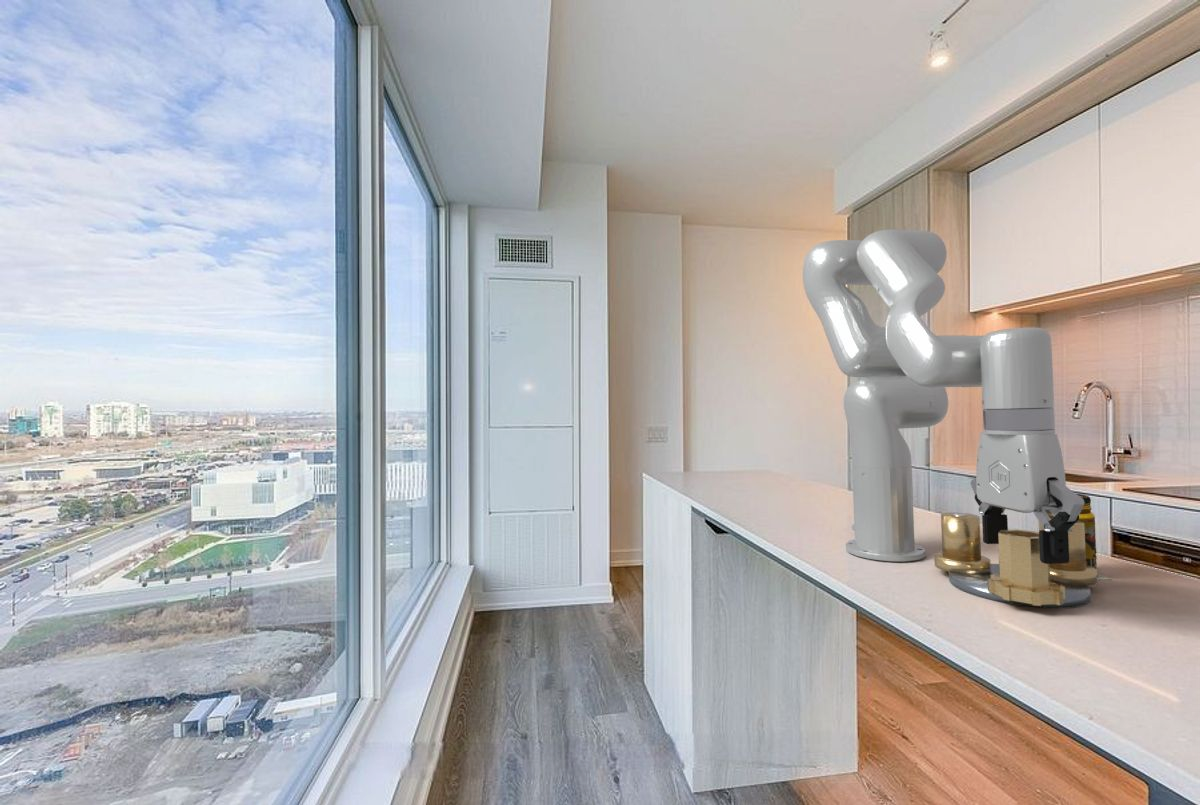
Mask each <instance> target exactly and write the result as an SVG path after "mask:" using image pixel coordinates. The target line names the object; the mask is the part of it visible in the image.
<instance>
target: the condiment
mask: <svg viewBox="0 0 1200 805" xmlns="http://www.w3.org/2000/svg"><path fill="white" fill-rule="evenodd" d="M1076 494H1077V495H1078V496H1080V497H1081V498H1082V499H1083V500H1084V506H1083V508H1082V510H1081V512H1080V514H1079V520H1078V521H1081V522H1083V523H1084V529H1085V552H1086V565H1088V566H1091V567H1093V568H1095V569H1096V570H1097V571H1098V567H1097V565H1098V564H1097V562H1098V561H1097V546H1096V543H1097V542H1096V518H1095V515H1094V513H1093V512H1092V511H1091V510H1092V509H1093V508H1092V505H1091V504H1092V502H1091V501H1092V499H1091V497H1090V496H1088V495H1086V494H1082V493H1081V494H1080V493H1076ZM1048 516H1049V517H1050V518H1053V517H1054V516H1053V515H1052V514H1048ZM1098 580H1104V581H1107V580H1108V581H1109V580H1112V578H1111V577H1108V576H1106V575H1102V574H1100V573H1098V572H1097V581H1098Z"/></svg>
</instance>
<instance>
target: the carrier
mask: <svg viewBox="0 0 1200 805" xmlns="http://www.w3.org/2000/svg"><path fill="white" fill-rule="evenodd" d="M1050 519H1052V518H1050ZM940 527H941V551H939V552H935V553H934V554H933V555H934V556H933V557H934V567H935V568H937V569H939V570H941V571H945V572H948V582H949V583H950V584H951V585H952V586H953V587H955V588H957V589H958V590H960V591H963V592H964V593H967V594H969V595H972V596H976V597H979V598H983V599H987V600H991V601H993V602H1000V603H1005V604H1010V605H1011V604H1012V605H1015V606H1016V605H1017V606H1024V607H1032V608H1045V609H1046V608H1047V609H1067V608H1069V607H1070V608H1076V607H1077V606H1078V607H1081V605H1083V606H1085V605H1088V604H1089V603H1090V602H1091V600H1092V599H1091V588H1090V586H1093V585H1096V584H1098V580H1097V573H1098V569H1097V570H1096V569H1095V568H1093V567H1091V566H1088V565H1086V552H1085V529H1084V523H1083V522H1081V521H1077V522H1076V523H1075V524H1074V525H1073V530H1072V531H1068V539H1069V562H1068V563H1059V564H1050V581H1051V582H1053V583H1056V584H1060V585H1063V586H1065V599H1063V605H1057V604H1047V605H1041V606H1036V605H1032V604H1028V603H1023V602H1017V601H1012V600H1011V601H1008V600H1004V599H1003V597H1000V596H998V595H996V594H994V593H989V592H988V581H987V579H991V575H993V574H996V575H1000V562H999V561H998V563H991V559H990V558H989V557H986V556H984V555H982V544H981V543H982V542H981V540H982V539H981V538H982V537H981V517H980V516H979V515H976V514H974V513H973V514H972V513H968V512H967V513H966V512H942V513H941V514H940ZM1039 530H1044V529H1043V527H1042V525H1041V524H1040V522H1039V521H1038V531H1039ZM1088 602H1089V603H1088ZM1087 603H1088V604H1087ZM1078 607H1077V608H1078ZM1070 608H1069V609H1070Z"/></svg>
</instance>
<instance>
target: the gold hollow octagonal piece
mask: <svg viewBox="0 0 1200 805" xmlns="http://www.w3.org/2000/svg"><path fill="white" fill-rule="evenodd" d="M998 537H999V544H998V563H999V562H1000V575H996V574H993V575H991V579H987V581H988V592H989V593H994V594H996V595H998V596H1000V597H1003V599H1004V600H1008V601H1011V600H1012V601H1017V602H1023V603H1028V604H1032V605H1036V606H1041V605H1047V604H1057V605H1063V599H1065V586H1063V585H1060V584H1056V583H1053V582H1051V581H1050V564H1045V563H1042V562H1041V561H1040V549H1039V531H1037V530H1036V531H1033V530H1025V529H1018V528H1017V529H1008V530H1001V531H1000V532H999V533H998Z"/></svg>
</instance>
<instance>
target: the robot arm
mask: <svg viewBox="0 0 1200 805" xmlns="http://www.w3.org/2000/svg"><path fill="white" fill-rule="evenodd" d="M947 254H948V252H947V246H946V245H945V242H944V241H943V239H942V238H941V237H940V236H939V235H937V233H934V232H932V231H929V230H920V229H919V230H918V229H915V230H913V229H892V228H891V229H881V230H877V231H875V232H872V233H871V234H868V235H867V236H865V237H864V239H862V240H854V239H836V240H835V239H834V240H827V241H824V242H820V243H818V244H816V245H814V246H813V247H811V248H810V250H809V251H808V252H807V254H806V255H805V258H804V262H803V266H802V284H803V289H804V292H805V295H806V297H807V300H808V301H809V304H810V305H811V307H812V309H813V311H814V312H815V314H816V315H817V317H818V318H819V320H820V323H821V325H822V327H823V330H824V331H823V332H824V333H825V336H826V339H827V341H828V344H829V347H830V349H831V352H832V354H833V357H834V359H835V362H836V364H837V367H838V368H839V370H840V372H842V374H843V375H845V376H848V377H852V378H861V379H857V380H856V381H854V382H852V383H851V384H850V385H849V386H848V387H847V389H846V390H845V392H844V397H843V409H844V414H845V418H846V421H847V422H846V423H847V428H848V431H849V438H850V448H851V449H850V450H851V469H852V470H851V472H852V494H853V495H852V497H853V498H852V499H853V502H852V503H853V524H852V525H851V530H853V532H854V539H851V540H849V541H847V542H846V543H845V550H846V551H847V552H848V553H850V554H851V555H853V556H857V557H860V558H862V559H863V558H864V559H868V560H874V561H883V562H896V563H897V562H913V561H919V560H922V559H924V558H925V557H926V549H925V548H924V547H923V546H921V545H919V544H916V543H915V521H914V520H915V518H914V496H913V495H914V492H913V491H914V490H913V487H914V486H913V466H912V454H911V451H910V448H909V445H908V443H907V442H906V440H905V438H904V436H903V435H902V433H901V432H900V429H920V428H929V427H933V426H936V425H938V424H939V423H941V422H942V421H943V420H944V418H945V417H946V415H947V413H948V409H949V397H948V393H947V389H946V388H981V398H982V421H983V422H982V423H983V424H982V425H983V431H982V432H981V433H980V436H979V440H978V446H977V454H976V456H977V457H976V472H975V473H976V474H975V475H976V476H975V478H973V479H972V480H971V481H970V486H971V488H972V491H973V494H974V500H975V502H976V504H977V505H978V512H979V514H980V515H981V521H982V522H981V523H982V524H981V526H982V543H984V544H986V545H999V537H998V533H999V532H1000V531H1001V530H1009V525H1008V524H1009V523H1008V520H1009V519H1008V514H1004V512H1005V511H1006V510H1009V511H1013V512H1017V513H1023V514H1030V513H1033V514H1034V516H1035V517H1036V519H1037V521H1038V523H1039V522H1040V524H1041V525H1042V527H1043V529H1044V530H1039V529H1038V532H1039V549H1040V561H1041V562H1042V563H1045V564H1059V563H1068V562H1069V539H1068V531H1072V530H1073V525H1074V524H1075V523H1076V522H1077V521H1078V520H1079V514H1080V512H1081V510H1082V508H1083V506H1084V500H1083V499H1082V498H1081V497H1080V496H1078V495H1077V494H1078V493H1076V492H1074V491H1073V490H1071V489H1070V488H1069V487H1068V486H1067V483H1066V472H1065V465H1064V464H1065V463H1064V459H1063V453H1062V452H1063V451H1062V450H1061V445H1060V441H1059V437H1058V434H1057V433H1056V424H1055V423H1056V422H1055V420H1056V418H1055V398H1054V397H1055V393H1054V375H1053V347H1052V346H1053V345H1052V338H1051V337H1052V336H1051V334H1050V332H1048V331H1047V329H1044V328H1041V327H1029V326H1028V327H1014V328H1006V329H1005V328H1004V329H999V330H998V329H997V330H993V331H991V332H988V333H986V334H985V335H966V334H965V335H964V334H961V335H959V334H958V335H954V334H953V335H948V334H947V335H946V334H945V335H943V334H942V335H936V334H935V333H934V332H932V331H931V329H930V328H929V327H928V326H927V324H926V322H925V321H924V320H923V319H922V318H921V316H924V315H925V314H927V313H929V312H930V311H931V310H932V309H933V308H935V307H936V306H937V305H938V304H939V302H940V301H941V300H942V298H943V296H944V294H945V292H946V284H945V282H944V280H943V278H942V277H941V276H940V275H939V273H940V272H941V271H942V270H943V268H944V266H945V264H946V260H947ZM848 285H849V286H850V285H851V286H854V285H855V286H872V287H873V288H874V289H875V291H876V292H877V293H878V295H879V296H880V297H881V299H882V300H883V302H884V303H885V305H886V306H887V307H888V309H889V312H888V313H887V316H886V321H885V326H879V325H877V324H876V323H875V322H874V320H873V319H872V317H871V314H870V312H869V309H868V307H867V305H866V304H865V302H864V301H863V300H862V299H861V298H860V297H859V296H858V295H857V294H856V293H854V291H852V290H850V289H849V288H848ZM1048 514H1052V515H1053V516H1054V517H1053V518H1052V519H1050V517H1049V516H1048Z"/></svg>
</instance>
